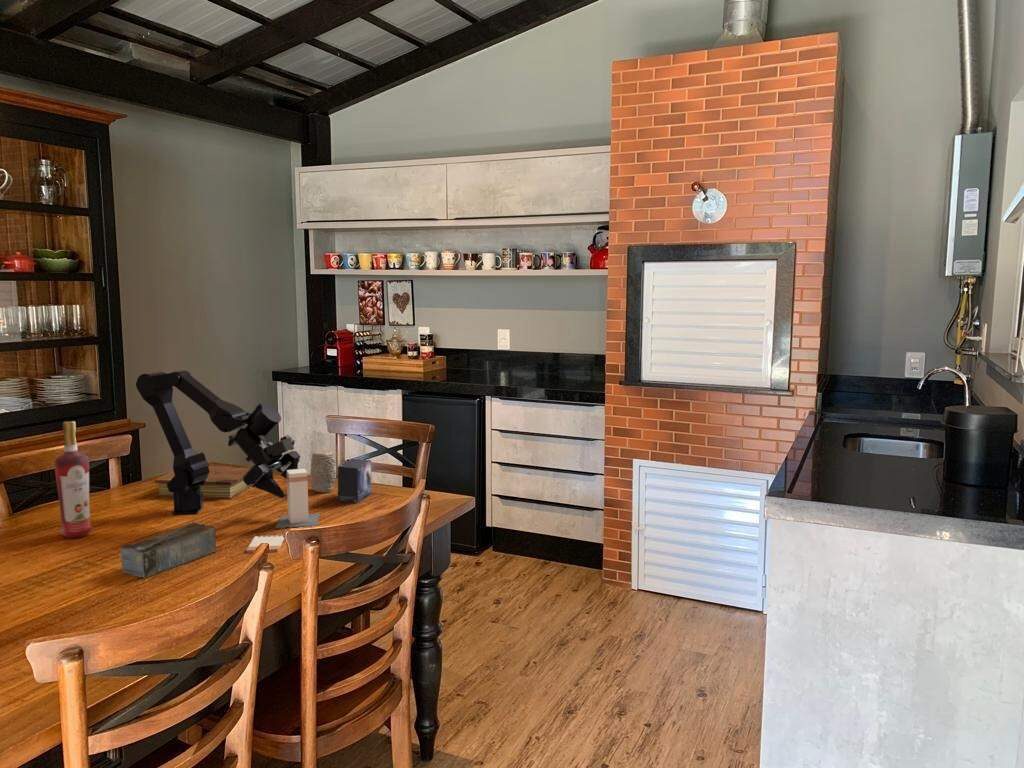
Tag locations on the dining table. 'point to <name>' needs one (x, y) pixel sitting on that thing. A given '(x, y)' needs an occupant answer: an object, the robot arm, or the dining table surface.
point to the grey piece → (168, 550)
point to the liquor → (73, 486)
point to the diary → (213, 483)
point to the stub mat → (285, 523)
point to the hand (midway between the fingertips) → (293, 492)
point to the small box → (354, 480)
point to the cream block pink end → (271, 540)
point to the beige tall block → (297, 495)
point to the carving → (322, 471)
